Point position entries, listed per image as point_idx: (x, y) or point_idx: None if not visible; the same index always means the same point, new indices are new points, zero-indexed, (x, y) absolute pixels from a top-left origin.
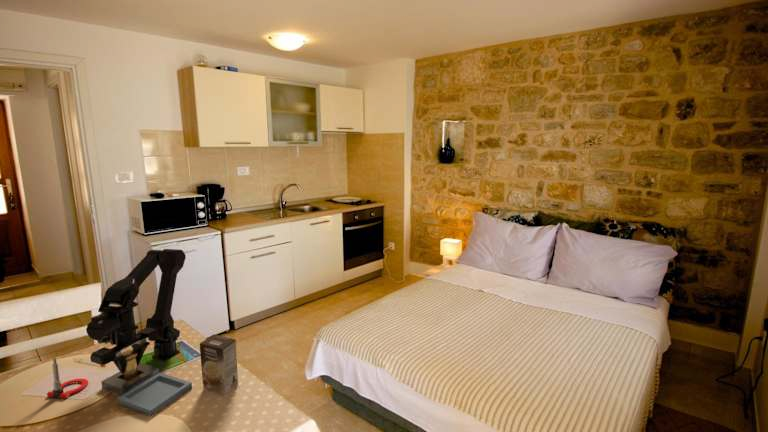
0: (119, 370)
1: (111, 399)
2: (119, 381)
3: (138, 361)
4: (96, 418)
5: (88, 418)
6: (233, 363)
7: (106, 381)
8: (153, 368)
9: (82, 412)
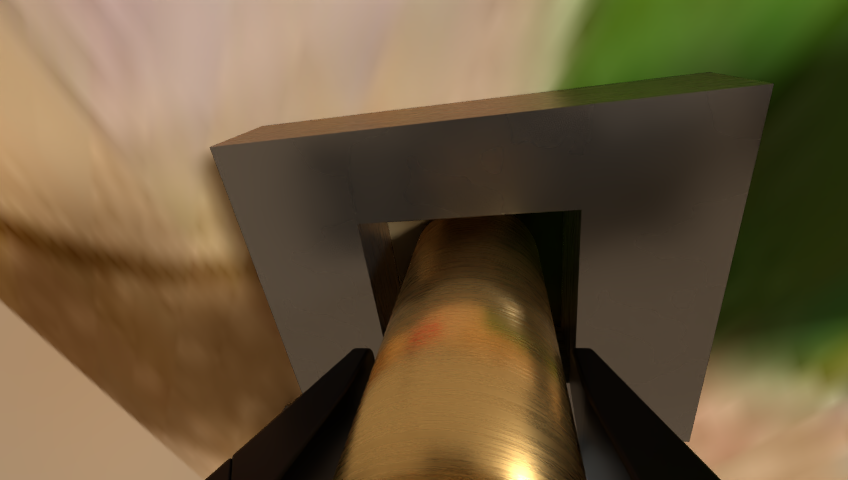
0: (327, 377)
1: (272, 333)
2: (342, 318)
3: (587, 473)
4: (168, 405)
5: (134, 373)
6: None
7: (253, 200)
8: (669, 406)
9: (106, 298)
